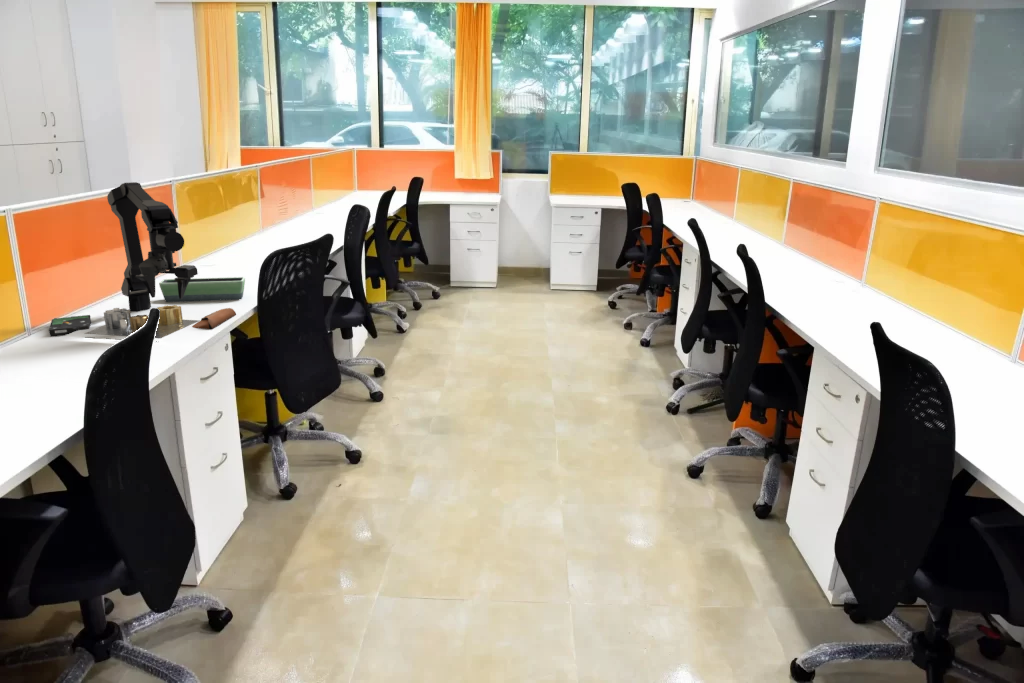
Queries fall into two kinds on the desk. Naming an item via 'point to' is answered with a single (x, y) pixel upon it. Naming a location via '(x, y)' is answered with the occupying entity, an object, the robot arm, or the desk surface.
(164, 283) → the planter
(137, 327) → the carrier
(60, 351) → the desk surface
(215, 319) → the sunglasses case
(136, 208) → the robot arm
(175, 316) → the brass gear
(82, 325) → the disk drive
